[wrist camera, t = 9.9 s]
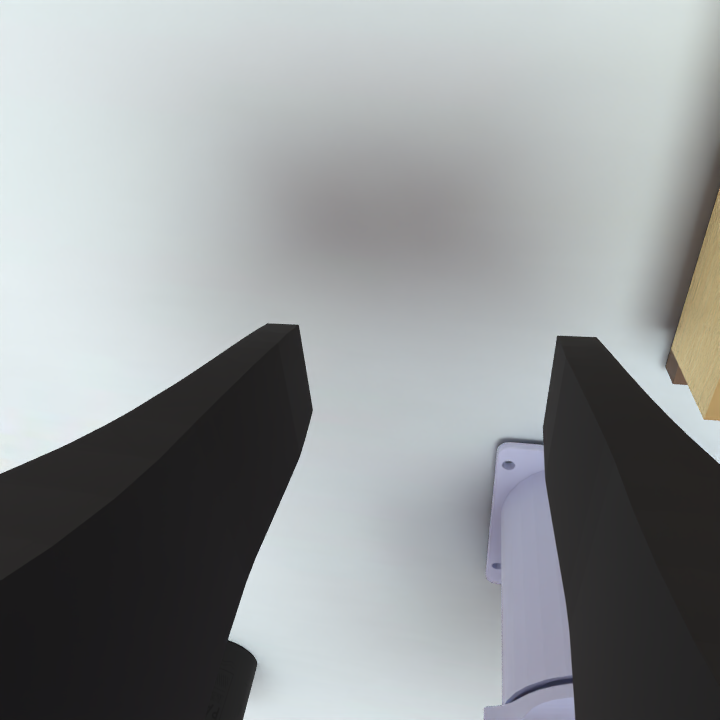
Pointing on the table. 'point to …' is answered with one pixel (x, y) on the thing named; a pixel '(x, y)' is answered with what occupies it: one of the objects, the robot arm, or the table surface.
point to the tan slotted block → (703, 325)
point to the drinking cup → (232, 684)
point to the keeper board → (672, 363)
